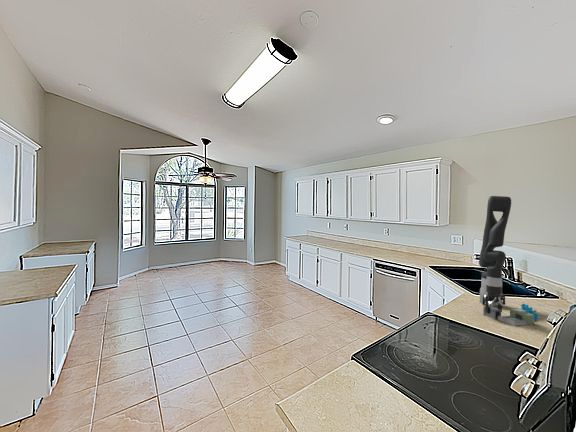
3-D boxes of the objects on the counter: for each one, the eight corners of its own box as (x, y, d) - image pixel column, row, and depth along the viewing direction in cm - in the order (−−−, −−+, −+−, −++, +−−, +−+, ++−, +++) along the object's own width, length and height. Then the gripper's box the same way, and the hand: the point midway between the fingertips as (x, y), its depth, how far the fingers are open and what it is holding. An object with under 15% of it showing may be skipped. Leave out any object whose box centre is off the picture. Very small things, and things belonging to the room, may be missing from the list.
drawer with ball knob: (497, 319, 160) (497, 308, 159) (515, 317, 163) (515, 307, 163) (514, 326, 150) (515, 315, 150) (534, 324, 153) (534, 313, 153)
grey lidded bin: (483, 314, 167) (483, 306, 166) (490, 314, 168) (490, 305, 168) (494, 319, 160) (494, 310, 160) (501, 318, 161) (501, 309, 161)
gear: (532, 319, 156) (519, 302, 162) (522, 324, 159) (510, 307, 166) (544, 319, 159) (531, 303, 166) (535, 324, 163) (522, 308, 170)
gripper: (497, 282, 168) (496, 309, 168) (478, 283, 165) (478, 311, 165) (510, 285, 161) (509, 313, 161) (490, 286, 158) (490, 315, 157)
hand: (493, 312), depth 163 cm, fingers open, 8 cm apart
